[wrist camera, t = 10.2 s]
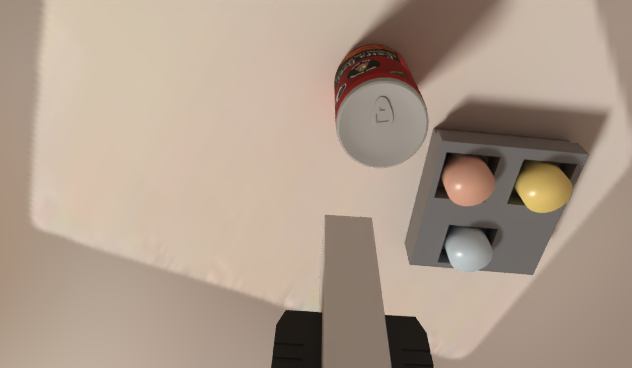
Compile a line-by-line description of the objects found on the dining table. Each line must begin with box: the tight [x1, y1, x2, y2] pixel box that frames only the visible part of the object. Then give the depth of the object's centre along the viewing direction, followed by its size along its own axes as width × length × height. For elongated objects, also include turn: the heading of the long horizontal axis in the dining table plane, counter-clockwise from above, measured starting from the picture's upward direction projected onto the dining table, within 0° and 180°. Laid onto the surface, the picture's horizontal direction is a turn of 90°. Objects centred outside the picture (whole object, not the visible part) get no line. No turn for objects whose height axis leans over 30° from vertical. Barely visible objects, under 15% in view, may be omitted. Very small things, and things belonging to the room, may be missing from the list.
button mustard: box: [514, 160, 573, 213], centre depth 48 cm, size 5×5×4 cm
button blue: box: [444, 225, 493, 272], centre depth 53 cm, size 5×5×4 cm
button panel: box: [405, 128, 589, 275], centre depth 52 cm, size 16×15×4 cm
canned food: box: [334, 45, 429, 168], centre depth 42 cm, size 8×8×11 cm
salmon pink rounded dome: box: [440, 153, 495, 206], centre depth 48 cm, size 5×5×4 cm
